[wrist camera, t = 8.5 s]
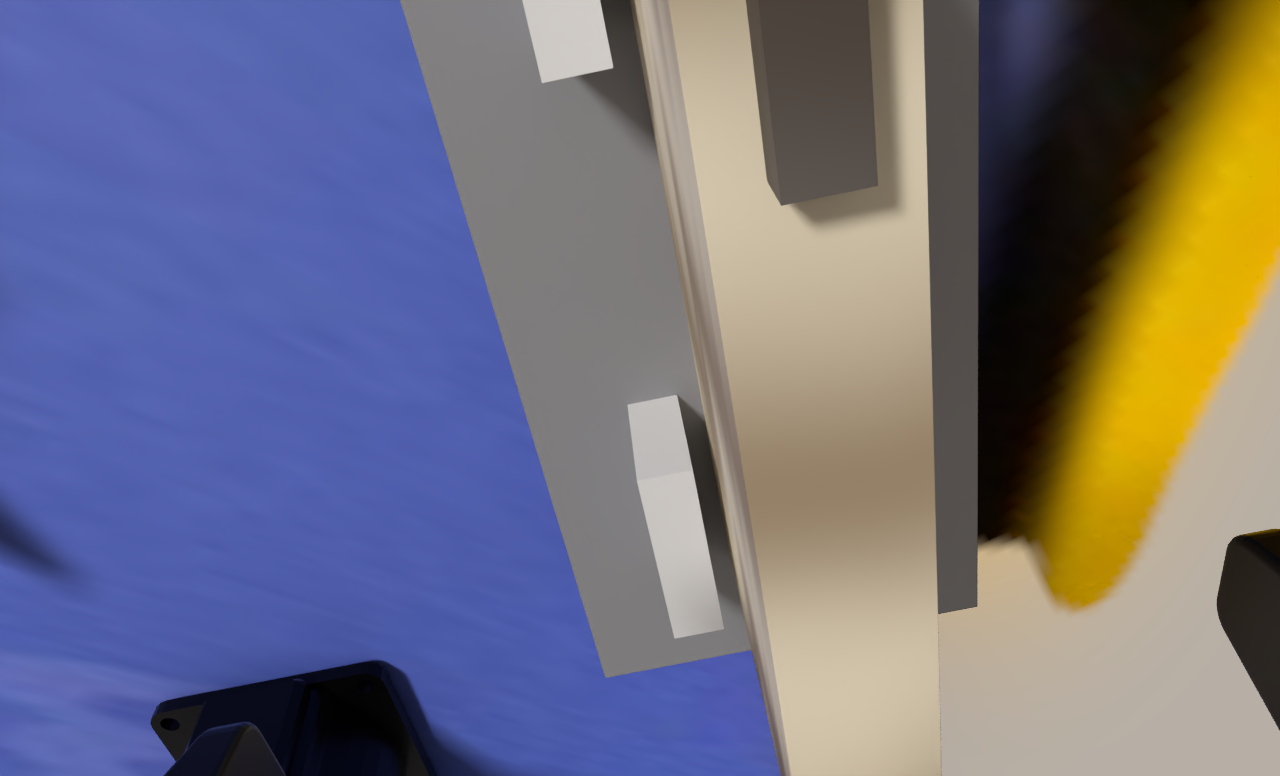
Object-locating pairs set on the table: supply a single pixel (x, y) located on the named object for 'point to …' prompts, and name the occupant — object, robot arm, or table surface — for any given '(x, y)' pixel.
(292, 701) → the robot arm
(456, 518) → the table surface
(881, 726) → the birch door
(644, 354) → the hinge plinth
